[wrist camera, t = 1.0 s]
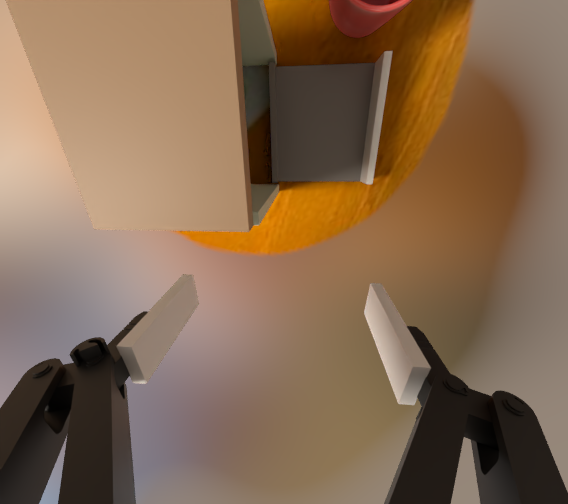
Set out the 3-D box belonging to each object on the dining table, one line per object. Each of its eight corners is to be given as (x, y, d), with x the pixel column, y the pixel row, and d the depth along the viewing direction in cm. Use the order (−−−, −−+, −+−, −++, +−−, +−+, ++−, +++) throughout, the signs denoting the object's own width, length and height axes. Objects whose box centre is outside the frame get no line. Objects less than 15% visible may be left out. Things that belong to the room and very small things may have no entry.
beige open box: (176, 57, 30) (-34, -102, 11) (276, 53, 29) (230, -130, 10) (198, 191, 38) (94, 229, 19) (279, 191, 37) (255, 231, 18)
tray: (271, 69, 30) (266, 56, 26) (380, 65, 29) (392, 50, 25) (274, 180, 36) (270, 184, 32) (364, 180, 35) (372, 184, 31)
